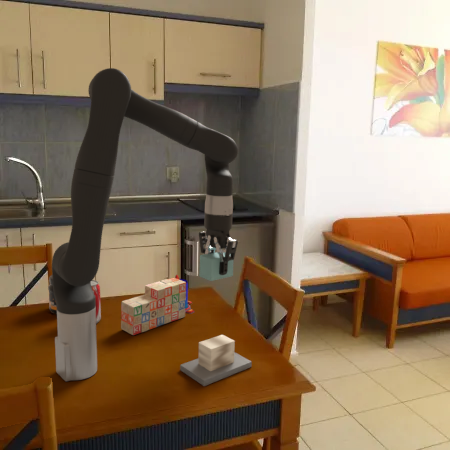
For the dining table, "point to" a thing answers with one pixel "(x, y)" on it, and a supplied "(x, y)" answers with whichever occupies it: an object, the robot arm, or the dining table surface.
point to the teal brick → (213, 267)
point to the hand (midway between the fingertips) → (216, 271)
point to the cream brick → (216, 352)
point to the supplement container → (52, 297)
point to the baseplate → (208, 376)
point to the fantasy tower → (187, 306)
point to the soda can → (97, 299)
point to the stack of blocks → (154, 306)
